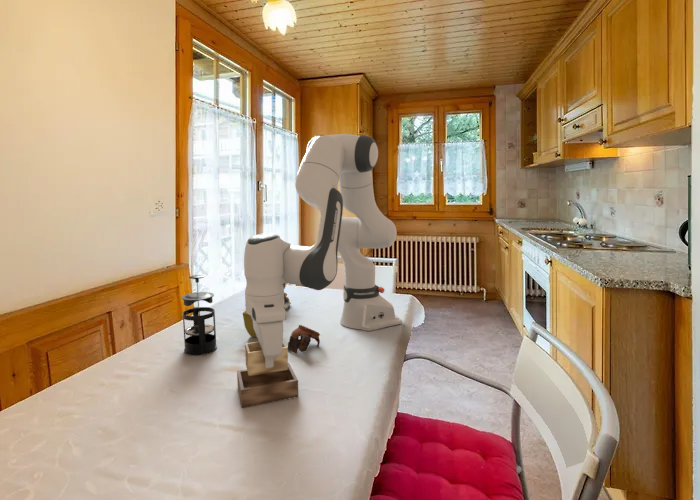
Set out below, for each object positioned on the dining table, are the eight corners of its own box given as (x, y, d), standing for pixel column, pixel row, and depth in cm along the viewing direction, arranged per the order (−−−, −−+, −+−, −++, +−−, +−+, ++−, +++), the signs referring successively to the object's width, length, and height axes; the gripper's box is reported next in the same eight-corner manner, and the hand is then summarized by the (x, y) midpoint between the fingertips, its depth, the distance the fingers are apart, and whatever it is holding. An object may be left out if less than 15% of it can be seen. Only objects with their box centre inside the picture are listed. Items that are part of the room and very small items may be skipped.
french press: (220, 352, 114) (216, 277, 111) (186, 359, 110) (181, 281, 106) (212, 339, 124) (209, 270, 121) (181, 344, 120) (177, 273, 116)
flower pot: (267, 341, 123) (267, 314, 122) (242, 338, 125) (241, 312, 124) (278, 331, 132) (277, 306, 130) (254, 329, 133) (253, 304, 132)
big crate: (289, 378, 99) (288, 362, 98) (298, 397, 90) (298, 380, 89) (237, 386, 94) (237, 370, 93) (241, 407, 85) (241, 390, 84)
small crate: (282, 359, 95) (282, 338, 94) (287, 369, 90) (287, 347, 89) (245, 365, 92) (245, 343, 91) (248, 376, 86) (247, 353, 86)
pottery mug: (283, 346, 120) (294, 321, 122) (310, 357, 122) (321, 333, 124) (287, 351, 109) (299, 324, 111) (317, 364, 111) (328, 337, 112)
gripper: (246, 293, 97) (247, 345, 99) (257, 318, 78) (259, 381, 80) (271, 291, 99) (272, 342, 101) (287, 315, 80) (288, 376, 82)
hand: (266, 359), depth 91 cm, fingers closed on small crate, 6 cm apart
